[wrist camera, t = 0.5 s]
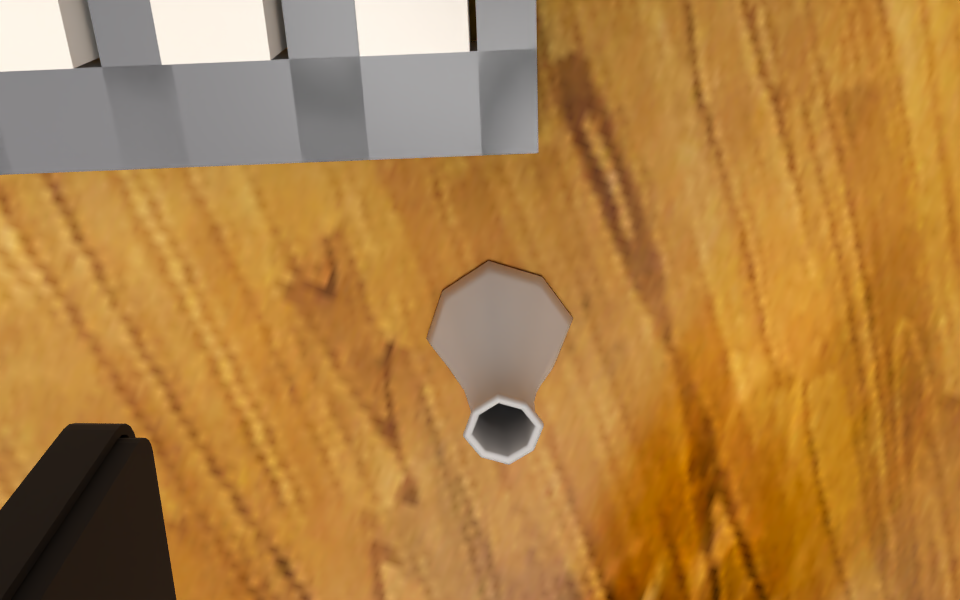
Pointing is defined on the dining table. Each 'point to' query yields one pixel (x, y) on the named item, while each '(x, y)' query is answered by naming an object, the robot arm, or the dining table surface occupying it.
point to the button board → (274, 97)
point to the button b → (218, 30)
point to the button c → (412, 26)
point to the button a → (45, 35)
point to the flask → (500, 353)
